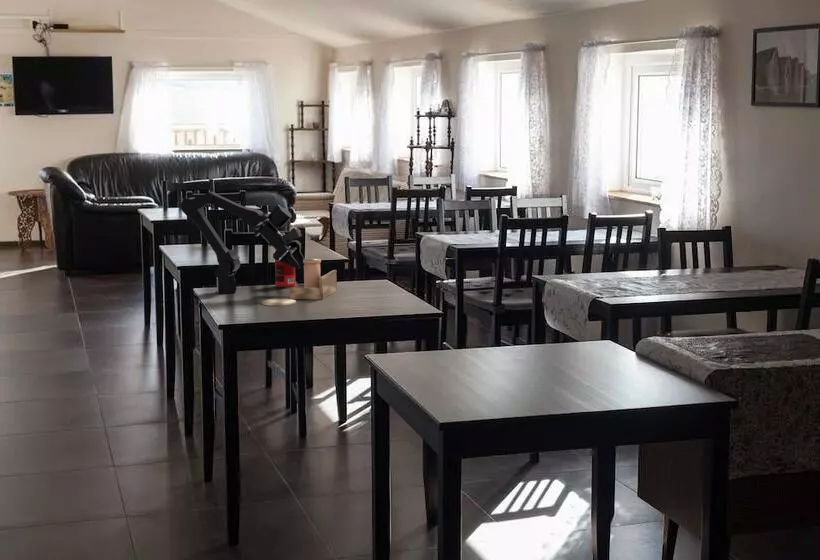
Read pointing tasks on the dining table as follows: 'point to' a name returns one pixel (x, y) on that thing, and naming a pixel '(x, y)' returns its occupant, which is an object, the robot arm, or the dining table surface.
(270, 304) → the cream flat disc
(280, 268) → the canned food
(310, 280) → the terracotta pot
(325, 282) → the cold frame
